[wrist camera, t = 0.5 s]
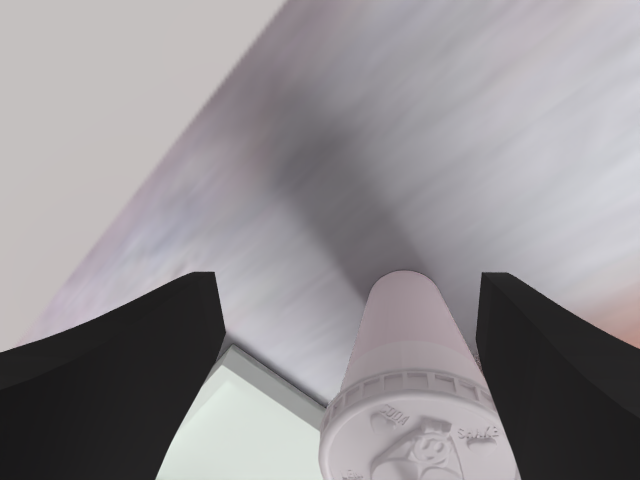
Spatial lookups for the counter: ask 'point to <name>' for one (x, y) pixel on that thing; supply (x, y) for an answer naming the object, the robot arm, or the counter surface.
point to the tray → (246, 427)
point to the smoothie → (412, 396)
